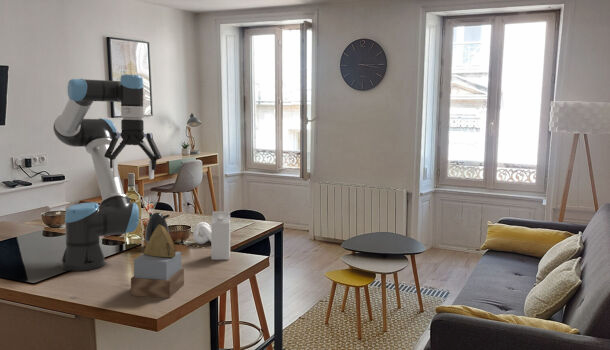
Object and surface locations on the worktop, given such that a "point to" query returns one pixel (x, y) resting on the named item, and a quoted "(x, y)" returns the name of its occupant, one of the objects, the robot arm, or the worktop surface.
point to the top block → (156, 266)
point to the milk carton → (220, 236)
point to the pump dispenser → (155, 224)
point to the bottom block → (157, 286)
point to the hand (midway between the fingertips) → (133, 178)
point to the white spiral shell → (202, 233)
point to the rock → (160, 243)
